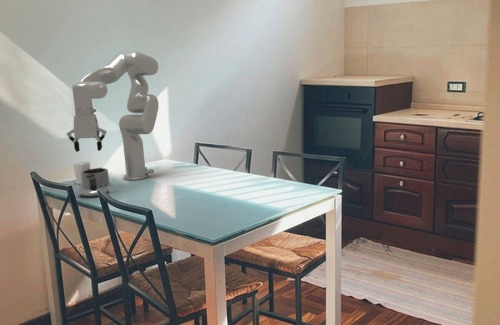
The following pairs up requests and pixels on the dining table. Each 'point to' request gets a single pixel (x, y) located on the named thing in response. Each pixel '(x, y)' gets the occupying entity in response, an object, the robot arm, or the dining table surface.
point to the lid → (92, 189)
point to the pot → (97, 173)
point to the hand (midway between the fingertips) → (88, 150)
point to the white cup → (80, 169)
